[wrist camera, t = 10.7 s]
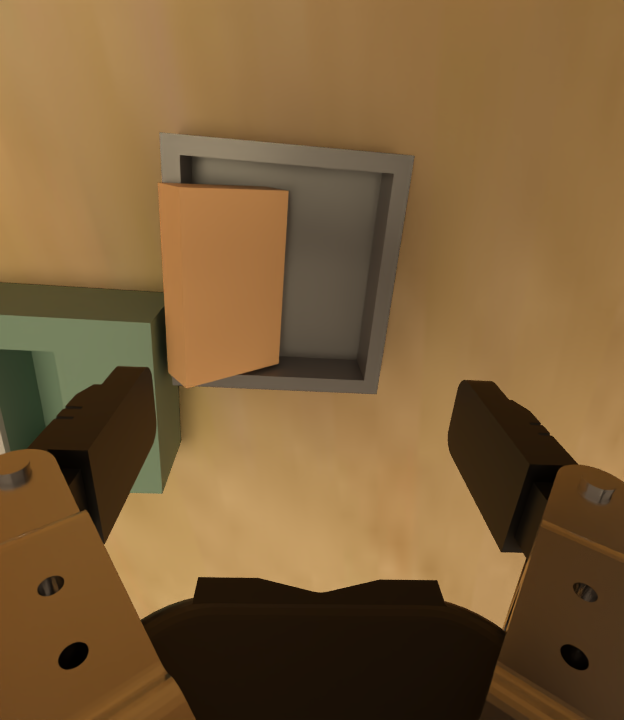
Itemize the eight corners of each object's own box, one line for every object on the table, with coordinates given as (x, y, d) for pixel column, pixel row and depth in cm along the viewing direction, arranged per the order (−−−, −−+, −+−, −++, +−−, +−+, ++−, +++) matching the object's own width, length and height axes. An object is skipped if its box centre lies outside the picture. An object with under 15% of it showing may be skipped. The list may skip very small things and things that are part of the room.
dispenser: (174, 293, 25) (148, 326, 20) (180, 441, 29) (160, 498, 24) (-53, 279, 24) (-139, 310, 19) (-13, 434, 28) (-76, 493, 23)
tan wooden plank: (278, 363, 25) (288, 190, 21) (186, 388, 21) (179, 187, 18) (258, 351, 26) (264, 186, 22) (168, 372, 23) (157, 182, 19)
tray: (396, 155, 23) (414, 155, 20) (365, 367, 28) (376, 394, 25) (177, 135, 22) (159, 132, 19) (185, 358, 27) (172, 385, 24)
